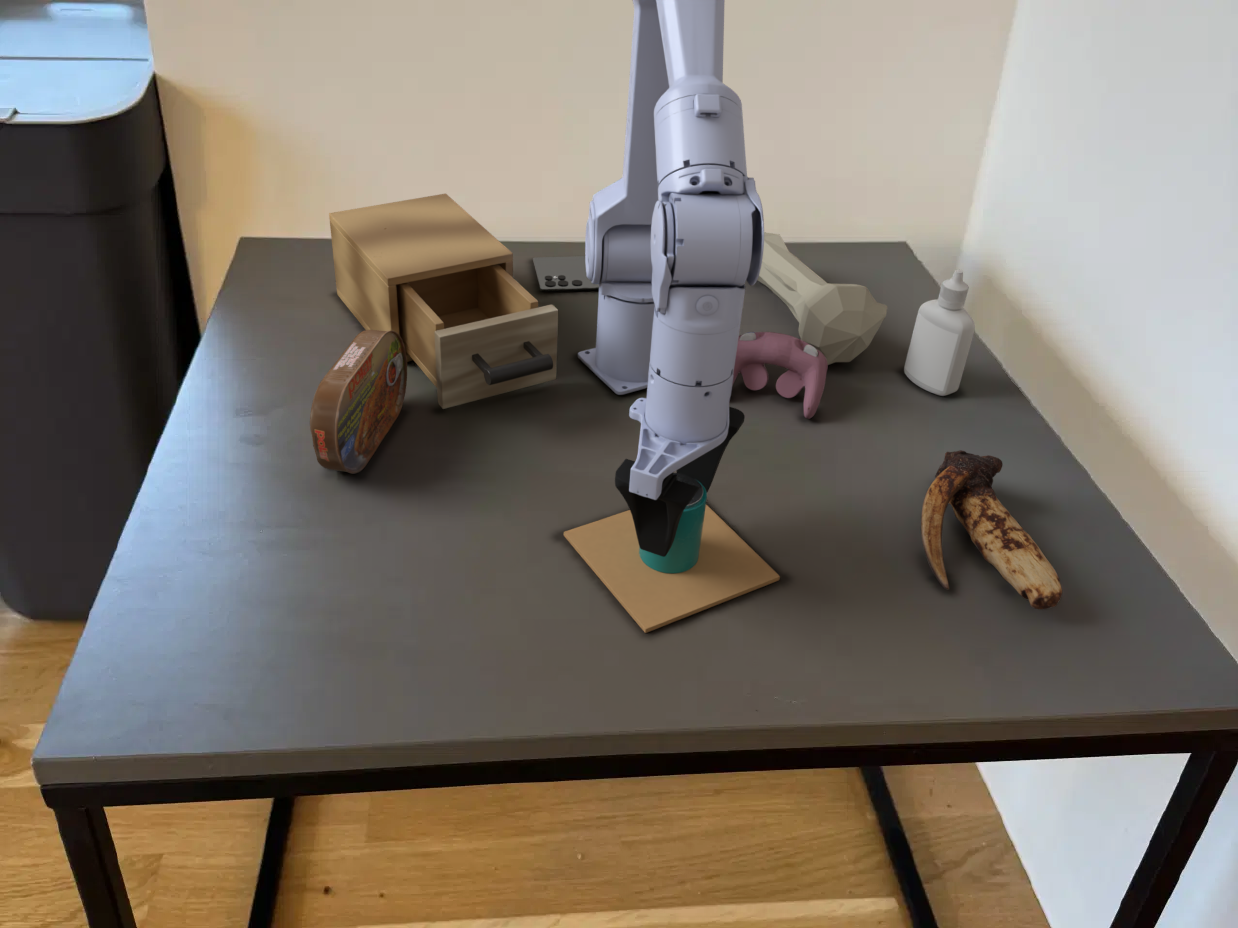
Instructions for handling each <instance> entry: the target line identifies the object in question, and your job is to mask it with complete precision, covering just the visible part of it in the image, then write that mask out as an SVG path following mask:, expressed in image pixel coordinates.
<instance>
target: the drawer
mask: <svg viewBox="0 0 1238 928" xmlns="http://www.w3.org/2000/svg"><path fill="white" fill-rule="evenodd" d="M396 290H397V305H398V320H399V334H400V337H401V338H402V340H403V343H404V347H405V350H406V352H407V353H408V354H409V355H410V356H411V358H412V359H413V362H414V363H415V364H416V365H417V366H418V367H419V369H420V370H421V371H422V372H423V374H424V375H425V376H426V377H427V378H428V379H429V381H430V382H431V383H432V385H434V387H435V388H436V394H437V395H436V396H437V398H436V399H437V404H438V405H439V406H440V407H441V409H443V410H444V409H448V408H453V407H455V406H460V405H464V404H467V403H471V402H475V401H478V400H479V401H480V400H482V399H487V398H491V397H493V396H498V395H501V394H504V393H509V392H512V391H517V390H520V389H524V388H528V387H532V386H535V385H540V384H543V383H547V382H552V381H554V380H557V366H558V365H557V364H558V361H557V360H558V334H559V333H558V328H559V327H558V326H559V325H558V324H559V309H558V308H557V307H555V305H554V304H552V303H551V304H547V305H543V306H539V301H538V299H537V298H535V297H534V296H533V295H532V294H531V293H530V292H529V291H528V290H527V289H526V288H525V287H523V286H522V285H521V284H520V282H518V281H517V280H516V279H515V278H514V277H513V278H512V277H511V276H510V275H509V274H508V273H507V272H506V271H505V270H504V269H503V268H502V267H501V266H500V265H498V264H495V265H490V266H485V267H480V268H476V269H471V270H466V271H461V272H456V273H451V274H446V275H441V276H436V277H432V278H427V279H422V280H417V281H412V282H407V283H402V284H397V285H396Z"/></svg>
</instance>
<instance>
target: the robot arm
mask: <svg viewBox="0 0 1238 928" xmlns="http://www.w3.org/2000/svg"><path fill="white" fill-rule="evenodd" d="M631 1H632V4H633V22H632V35H631V36H632V37H631V38H632V39H631V50H630V51H631V52H630V63H629V65H630V66H629V80H628V94H627V109H626V121H625V136H624V151H623V165H622V176H621V178H619V179H618V180H615V181H614V182H612V183H611V184H609V185H606V186H605V187H603V188H602V189H600V190H598V191H597V192H595V193H594V194H593V195H592V198H591V200H590V201H589V206H588V207H589V208H588V218H587V220H586V225H585V241H584V242H585V243H584V253H585V254H584V256H585V264H586V275H587V278H588V279H589V280H590V281H591V282H592V284H599V290H598V298H597V299H598V300H597V301H598V303H597V318H596V319H597V320H596V336H595V337H596V338H595V347H593V348H589V349H585V350H581V351H579V352H577V359H579V360H580V361H581V362H582V363H583V364H584V366H586V367H587V368H588V369H589V370H590V371H591V372H593V373H594V375H595V376H597V378H599V380H601V382H603V384H605V385H606V386H607V387H608V388H609V389H611V391H612V392H614V394H616V395H618V396H624V395H627V394H630V393H633V392H637V391H641V390H645V389H646V397H639V398H637V399H636V400H635V401H633V403H632V404H631V406H630V407H629V411H628V412H629V413H628V417H629V418H630V419H631V420H633V421H638V422H639V423H640V430H639V439H638V448H637V455H636V459H635V460H633V459H629V458H625V459H624V460H623V461H622V463H621V464H620V465H619V467H617V469H616V471H615V475H614V476H615V477H614V485H615V488H616V490H617V491H618V492H619V494H620V495H621V496H622V497H623V499H624V501H625V502H626V504H627V506H628V509H629V510H630V511H631V514H632V518H633V521H634V525H635V530H636V534H637V539H638V543H639V546H640V549H642V550H645V551H648V552H651V553H654V554H656V555H659V556H662V557H665V556H666V555H667V553H668V552H669V550H670V548H671V546H672V544H673V541H674V538H675V535H676V531H677V528H678V524H679V521H680V518H681V516H682V513H683V511H684V509H685V507H686V506H687V505H688V504H689V502H690V501H691V500H692V499H693V497H694V496H695V494H696V493H697V491H698V490H699V487H697V486H694V485H691V484H687V483H684V482H681V481H678V480H677V475H676V474H674V475H673V473H675V472H676V473H680V474H685V475H688V476H690V477H692V478H694V479H696V480H697V481H699V482H700V483H701V484H702V485H703V486H704V487H705V489H706V492H707V493H708V492H709V490H710V488H711V487H712V483H713V481H714V479H715V476H716V473H717V472H718V471H717V470H718V467H719V465H720V463H721V460H722V458H723V455H724V453H725V452H726V451H725V450H726V449H727V447H728V446H729V443H730V441H731V440H732V439H733V438H734V437H735V435H737V433H738V432H739V430H740V429H741V427H742V425H743V424H744V423H745V418H746V415H745V414H744V412H743V411H742V410H740V409H739V408H735V407H733V406H730V400H731V396H732V391H733V385H732V383H733V376H734V375H733V373H734V366H735V359H736V352H737V345H738V338H739V336H740V330H741V324H742V323H741V322H742V315H743V308H744V300H745V294H746V284H745V283H746V282H747V284H749V285H750V286H754V285H755V284H756V283H757V281H758V280H757V279H758V277H759V273H760V270H761V265H762V259H763V250H764V232H765V218H764V209H763V203H762V200H761V197H760V195H759V193H758V191H757V187H756V180H755V179H754V178H755V177H748V168H747V167H748V166H747V156H746V142H745V128H744V114H743V113H744V112H743V103H742V101H741V100H742V99H741V98H740V96H739V95H738V93H736V92H735V91H734V90H733V89H732V88H731V87H729V86H728V85H726V84H725V83H724V82H723V80H724V43H725V42H724V41H725V40H724V39H725V38H724V37H725V2H726V1H725V0H631ZM733 384H734V383H733Z"/></svg>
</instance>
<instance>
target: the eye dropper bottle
mask: <svg viewBox="0 0 1238 928" xmlns="http://www.w3.org/2000/svg"><path fill="white" fill-rule="evenodd" d="M940 285H941V286H940V289H939V294H938V298H937V299H930V300H927V301H925V302H924V303H922V304H921V305H920V306H919V307H918V311H917V314H916V318H915V321H914V326H913V330H912V334H911V338H910V341H909V346H908V350H907V354H906V357H905V362H904V366H903V373H904V374H905V376H906V377H907V378H908V379H909V380H910V381H911V382H912V383H913V384H914V385H916V386H917V387H919V388H921V389H922V390H923V391H924V390H925V391H926V392H929V393H931V394H933V395H937V396H939V397H940V396H941V397H944V396H950V395H951V394H954V393H957V391H958V390H959V388H960V385H961V381H962V378H963V374H964V370H965V367H966V364H967V360H968V356H969V352H970V349H971V345H972V342H973V338H974V334H975V331H976V324H975V321H974V318H973V317H972V316H971V314H970V313H969V312H968V311H967V309H965V308H964V307H965V303H966V299H967V296H968V292H969V288H970V287H969V284H968V283H967V282H965V281H964V271H963V270H962V269H959V268H958V269H955V270H954V272H953V274H952V277H950V278H947V279H944V280H943V281H941V284H940Z"/></svg>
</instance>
